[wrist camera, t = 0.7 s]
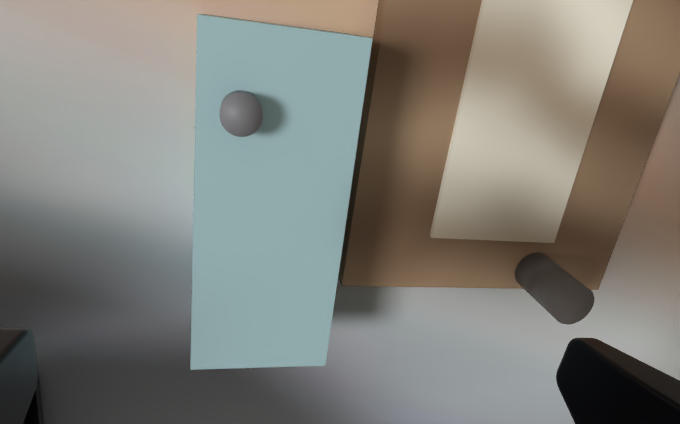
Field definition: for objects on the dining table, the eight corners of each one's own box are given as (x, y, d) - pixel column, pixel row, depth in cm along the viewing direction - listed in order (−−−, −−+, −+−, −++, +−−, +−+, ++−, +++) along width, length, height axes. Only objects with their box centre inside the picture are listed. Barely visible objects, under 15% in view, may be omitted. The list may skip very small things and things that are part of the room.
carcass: (584, 279, 24) (645, 325, 21) (337, 274, 21) (358, 327, 18) (735, -139, 18) (862, -177, 14) (414, -232, 15) (471, -311, 11)
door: (310, 307, 22) (329, 379, 18) (198, 307, 21) (188, 385, 17) (344, 33, 18) (380, 39, 13) (205, 14, 17) (195, 14, 12)
